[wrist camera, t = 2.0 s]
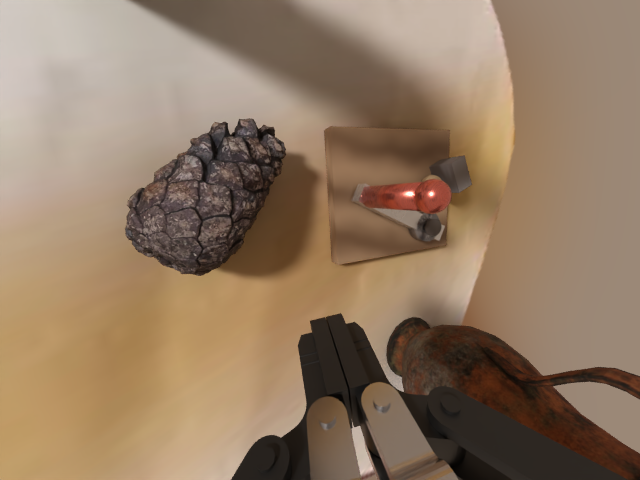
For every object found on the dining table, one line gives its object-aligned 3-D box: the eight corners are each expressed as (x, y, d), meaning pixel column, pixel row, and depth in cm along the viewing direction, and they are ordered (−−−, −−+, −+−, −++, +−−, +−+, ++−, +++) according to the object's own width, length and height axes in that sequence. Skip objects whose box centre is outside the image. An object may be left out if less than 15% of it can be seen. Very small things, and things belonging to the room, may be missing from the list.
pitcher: (373, 404, 44) (629, 745, 17) (363, 291, 40) (691, 502, 12) (444, 370, 50) (722, 583, 22) (443, 268, 45) (788, 376, 18)
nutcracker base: (324, 130, 33) (345, 116, 28) (439, 133, 40) (474, 123, 35) (331, 261, 37) (351, 272, 31) (437, 242, 44) (468, 249, 38)
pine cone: (289, 155, 32) (318, 138, 23) (214, 275, 31) (213, 307, 22) (213, 96, 28) (211, 47, 19) (123, 232, 27) (74, 250, 18)
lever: (438, 219, 40) (537, 228, 28) (427, 245, 40) (522, 266, 28) (360, 176, 34) (443, 164, 21) (348, 207, 34) (424, 213, 21)
